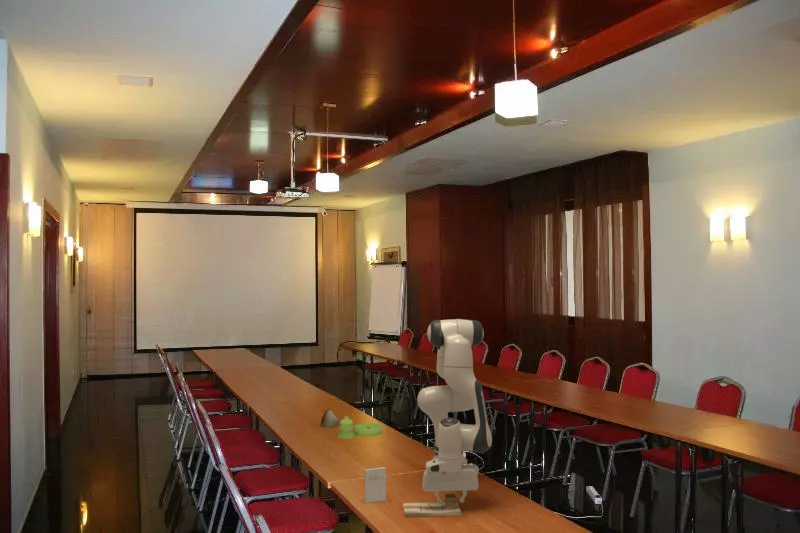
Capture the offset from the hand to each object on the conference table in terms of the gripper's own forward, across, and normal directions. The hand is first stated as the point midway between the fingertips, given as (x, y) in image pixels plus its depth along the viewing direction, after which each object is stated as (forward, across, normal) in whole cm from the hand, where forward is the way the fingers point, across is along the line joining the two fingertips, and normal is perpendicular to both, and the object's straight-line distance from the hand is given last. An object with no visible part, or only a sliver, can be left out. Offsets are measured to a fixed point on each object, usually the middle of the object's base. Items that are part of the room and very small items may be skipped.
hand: (450, 502), depth 239 cm
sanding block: (+2, 0, 0) cm, 2 cm away
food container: (+3, +33, -113) cm, 118 cm away
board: (+3, +7, 0) cm, 8 cm away
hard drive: (+3, +27, -12) cm, 30 cm away
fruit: (+3, +50, -133) cm, 142 cm away
